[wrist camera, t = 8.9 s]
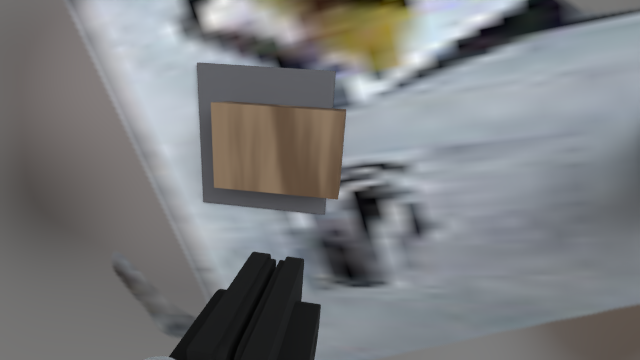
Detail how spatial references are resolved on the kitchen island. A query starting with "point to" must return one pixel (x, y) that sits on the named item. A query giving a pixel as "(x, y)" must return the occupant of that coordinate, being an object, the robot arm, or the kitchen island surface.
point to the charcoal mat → (263, 89)
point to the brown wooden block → (277, 148)
